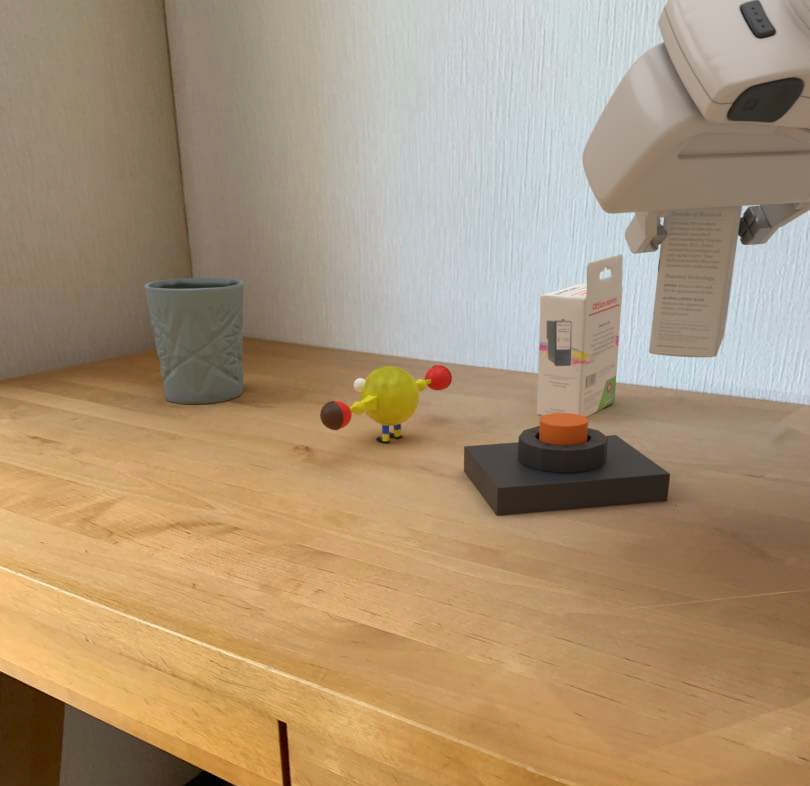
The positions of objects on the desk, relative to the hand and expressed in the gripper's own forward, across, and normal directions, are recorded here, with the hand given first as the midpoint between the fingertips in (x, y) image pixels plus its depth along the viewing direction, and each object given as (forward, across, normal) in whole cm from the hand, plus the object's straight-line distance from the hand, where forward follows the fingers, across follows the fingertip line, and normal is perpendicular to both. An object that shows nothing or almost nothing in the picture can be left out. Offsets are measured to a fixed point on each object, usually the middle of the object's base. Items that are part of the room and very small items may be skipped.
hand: (693, 240), depth 55 cm
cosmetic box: (+4, 0, +5) cm, 7 cm away
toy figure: (+31, +12, -4) cm, 33 cm away
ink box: (+33, -9, -6) cm, 34 cm away
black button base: (+19, +4, +7) cm, 21 cm away
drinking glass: (+48, +25, -22) cm, 59 cm away
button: (+16, +4, +5) cm, 17 cm away
